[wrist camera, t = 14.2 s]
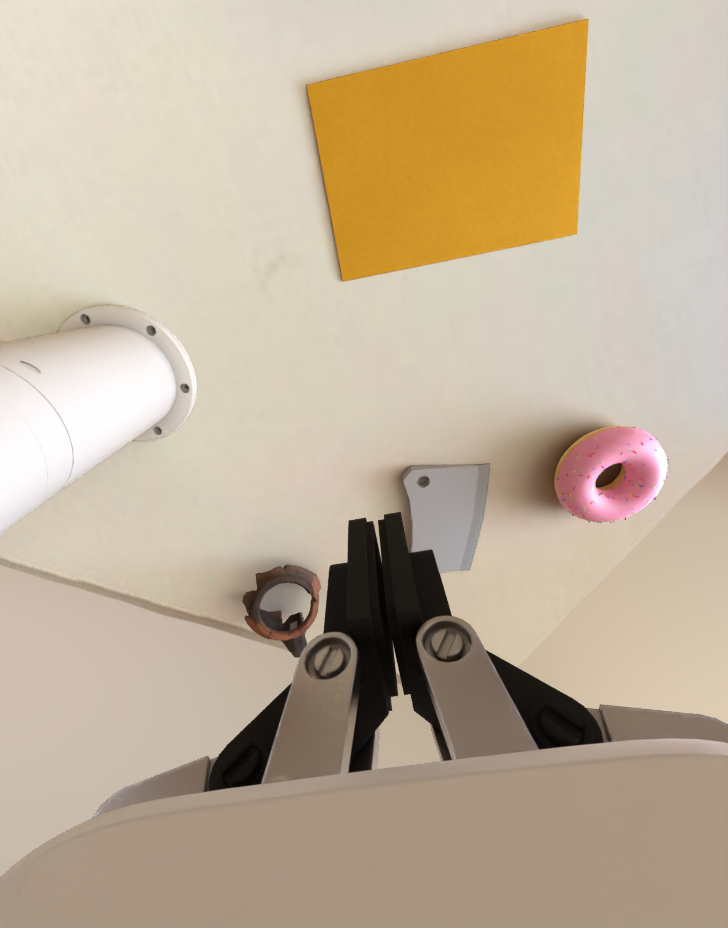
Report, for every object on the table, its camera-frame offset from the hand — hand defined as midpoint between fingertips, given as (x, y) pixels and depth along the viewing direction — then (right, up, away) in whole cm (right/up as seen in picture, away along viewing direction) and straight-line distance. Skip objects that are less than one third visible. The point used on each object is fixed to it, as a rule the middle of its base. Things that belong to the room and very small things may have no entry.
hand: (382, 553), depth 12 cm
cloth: (+6, +26, +18) cm, 32 cm away
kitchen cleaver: (+8, -8, +34) cm, 36 cm away
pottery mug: (-10, -13, +36) cm, 40 cm away
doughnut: (+25, +3, +30) cm, 39 cm away
